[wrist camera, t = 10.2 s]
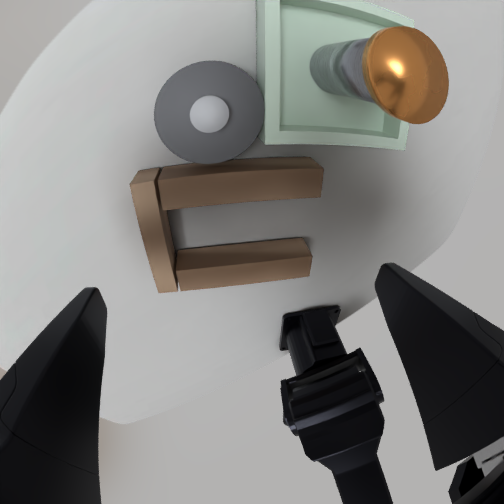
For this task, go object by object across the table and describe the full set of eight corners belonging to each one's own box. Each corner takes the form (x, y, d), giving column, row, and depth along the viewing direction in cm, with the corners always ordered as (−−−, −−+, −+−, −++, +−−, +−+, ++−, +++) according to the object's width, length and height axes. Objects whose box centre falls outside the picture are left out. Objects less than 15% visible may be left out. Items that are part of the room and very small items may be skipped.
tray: (384, 140, 18) (404, 150, 16) (256, 135, 16) (265, 144, 14) (391, 22, 12) (414, 20, 10) (255, -5, 10) (264, -18, 8)
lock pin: (360, 105, 15) (441, 133, 9) (300, 95, 15) (367, 112, 8) (366, 47, 13) (451, 48, 6) (305, 32, 12) (375, 10, 6)
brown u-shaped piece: (300, 257, 23) (309, 276, 21) (161, 271, 22) (158, 293, 20) (309, 156, 18) (323, 168, 16) (138, 170, 16) (129, 184, 14)
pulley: (257, 149, 17) (267, 164, 14) (165, 158, 16) (158, 174, 14) (256, 62, 13) (267, 58, 11) (157, 69, 13) (147, 67, 10)
